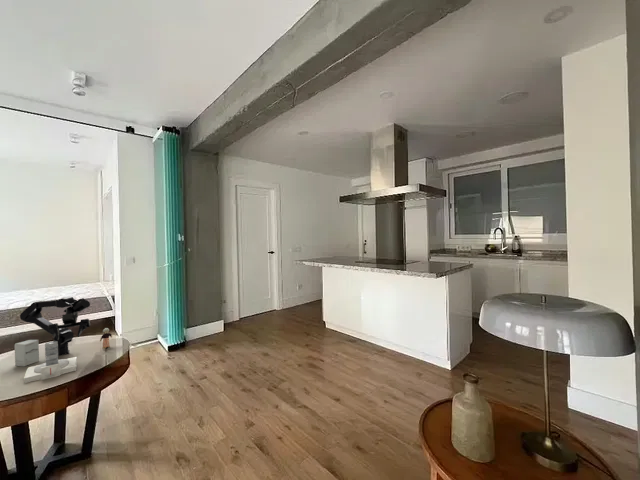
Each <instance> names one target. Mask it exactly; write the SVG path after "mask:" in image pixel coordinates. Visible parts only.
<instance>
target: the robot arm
mask: <svg viewBox="0 0 640 480" xmlns="http://www.w3.org/2000/svg"><path fill="white" fill-rule="evenodd" d="M90 306H91V303H90V301H88V299H85V298H84V297H82V298H79V299H76V298H74V297H73V296H67V297H62V298H59V299H50V300H49V299H48V300H38V301H34V302H32V303H31V304H30V305H29V306H28V307H27V308H25V309H24V310H23V311H22V312H21V313H20V315H19V319H20V320H21V321H23V322H25V323H28V324H33V325H36V326H38V328H41V329H42V330H44V331H45V332H47V333H49V334H50V335H51V336H52V338H53V341H58V357H60V356H64V355H69V354H70V349H69V343H70V342H73V339H74V331H73V330H72V329H70V328H73V327H78V332H77V337H80V336H81V335H82V333H83V332H84V331H85V330H86V329H88V328H90V326H91V321H90V319H89V318H84V319H80V321H79V322H78V321H77V320H78V318H79V313H81V312H83V311H85V310H86V309H88V308H89V307H90ZM50 307H51V308H52V307H54V308H55V307H56V308H60V309H61V308H62V309H63V308H65V309H64V310H63V313H65V314H62V317H61V321H62V324H59V323H58V322H57V323H52V322H50V321H49V320H48V319H46V317H43V316H42V311H43V308H50Z"/></svg>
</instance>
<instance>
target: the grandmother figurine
mask: <svg viewBox="0 0 640 480" xmlns="http://www.w3.org/2000/svg"><path fill="white" fill-rule="evenodd" d="M109 331H110V329H109V328H108V327H104V329H103V330H102V333H103V334H102V336H101V337H100V339H99V342H102V350H103V349H104V350H105V349H106V348H109V347H111V344H110V338H113V335H112V334H111V333H110V332H109Z"/></svg>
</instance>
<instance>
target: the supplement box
mask: <svg viewBox="0 0 640 480" xmlns="http://www.w3.org/2000/svg"><path fill="white" fill-rule="evenodd" d="M39 344H40V343H39V339H27V340H25V341H20V342H16V343H15V344H14V365H15V366H17V367H26V366H28V365H32V364H35V363H37V362H40V349H39V348H40V346H39Z"/></svg>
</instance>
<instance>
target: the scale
mask: <svg viewBox="0 0 640 480" xmlns="http://www.w3.org/2000/svg"><path fill="white" fill-rule="evenodd" d="M77 361H78V360H77V356H74V357H70V358H69V357H68V358H61V359H58V364H54V365H50V366H46V362H43V363H40V364H37V365H32V366H29V367H27V369H26V372H25V374H24V377H23V384H27V383H30V382H34V381H38V380H42V381H44V380H48V379H51V378H55V377H59V376H61V375H63V374H67V373H72V372H76V371H77V364H78V363H77Z"/></svg>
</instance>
